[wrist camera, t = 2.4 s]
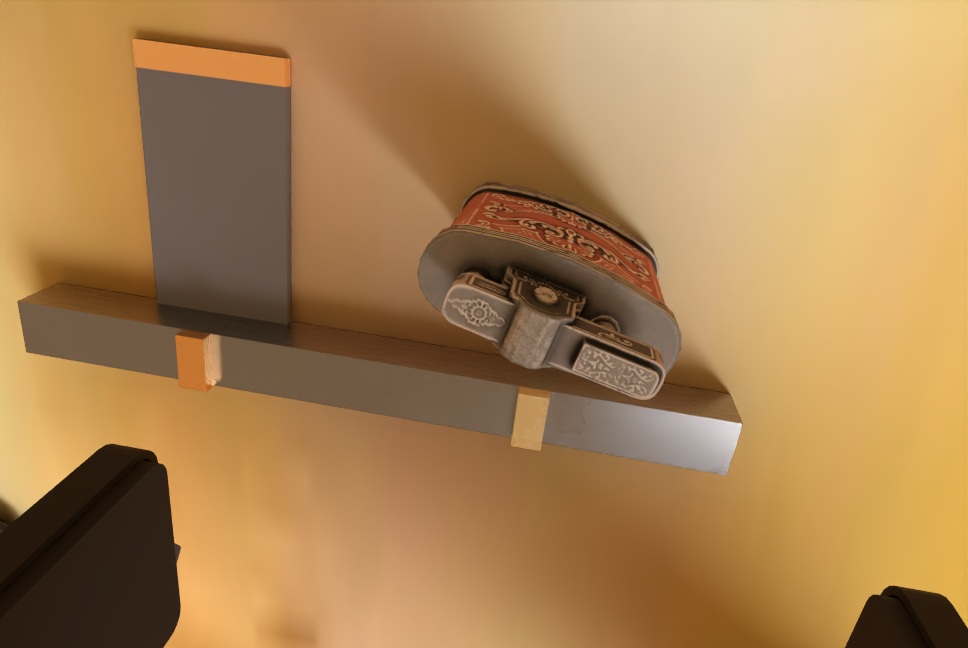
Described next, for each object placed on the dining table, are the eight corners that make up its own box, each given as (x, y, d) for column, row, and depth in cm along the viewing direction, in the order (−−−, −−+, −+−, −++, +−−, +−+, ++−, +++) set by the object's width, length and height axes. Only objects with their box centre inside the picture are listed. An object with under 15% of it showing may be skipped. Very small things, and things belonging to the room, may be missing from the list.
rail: (730, 393, 28) (746, 432, 25) (716, 442, 29) (729, 484, 26) (58, 282, 30) (6, 306, 28) (65, 330, 31) (15, 357, 28)
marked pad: (290, 58, 25) (285, 58, 25) (291, 325, 29) (286, 329, 29) (140, 38, 26) (132, 38, 25) (162, 303, 30) (156, 307, 29)
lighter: (450, 242, 27) (378, 342, 18) (478, 162, 26) (417, 227, 16) (634, 317, 27) (658, 455, 18) (673, 242, 26) (719, 350, 16)
